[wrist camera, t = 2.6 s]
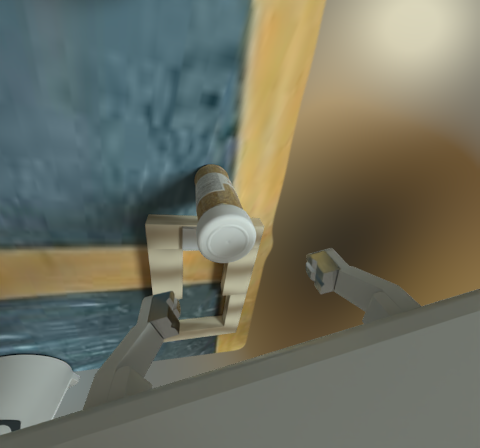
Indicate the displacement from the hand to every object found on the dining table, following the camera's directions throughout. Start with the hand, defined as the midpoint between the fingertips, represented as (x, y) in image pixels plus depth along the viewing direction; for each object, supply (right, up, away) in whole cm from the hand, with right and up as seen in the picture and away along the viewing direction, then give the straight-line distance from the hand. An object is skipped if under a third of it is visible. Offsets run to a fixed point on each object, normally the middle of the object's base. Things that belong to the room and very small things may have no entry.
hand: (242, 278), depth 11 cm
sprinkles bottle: (-4, +9, +14) cm, 17 cm away
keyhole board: (-7, -7, +24) cm, 26 cm away
